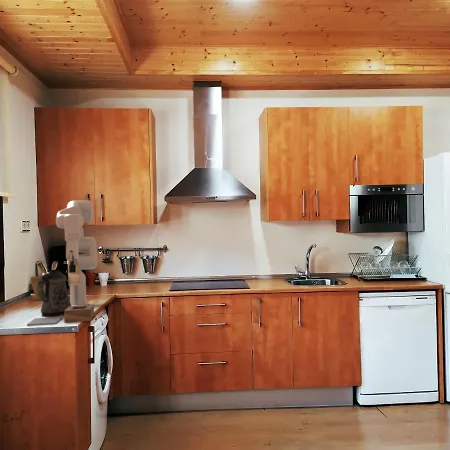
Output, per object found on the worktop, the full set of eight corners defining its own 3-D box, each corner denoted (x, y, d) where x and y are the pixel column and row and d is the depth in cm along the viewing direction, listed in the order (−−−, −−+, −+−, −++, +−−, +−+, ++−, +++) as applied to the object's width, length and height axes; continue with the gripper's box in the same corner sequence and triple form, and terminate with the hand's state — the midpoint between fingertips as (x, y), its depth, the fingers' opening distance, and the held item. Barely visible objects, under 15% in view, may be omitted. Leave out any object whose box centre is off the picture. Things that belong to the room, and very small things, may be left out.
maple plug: (69, 284, 237) (68, 261, 237) (80, 283, 238) (79, 261, 237) (67, 285, 231) (67, 262, 231) (78, 285, 232) (77, 262, 232)
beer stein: (75, 310, 260) (74, 267, 259) (64, 317, 240) (63, 271, 240) (47, 311, 259) (45, 268, 259) (34, 318, 240) (32, 272, 240)
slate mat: (34, 319, 237) (34, 318, 237) (62, 318, 239) (62, 316, 239) (27, 325, 223) (27, 324, 223) (56, 324, 225) (56, 322, 225)
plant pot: (59, 297, 308) (58, 274, 308) (45, 301, 294) (44, 277, 294) (41, 297, 312) (40, 274, 312) (26, 301, 298) (25, 277, 298)
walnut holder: (69, 317, 241) (69, 306, 241) (94, 315, 243) (93, 304, 243) (64, 322, 228) (64, 310, 228) (90, 320, 230) (90, 309, 230)
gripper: (68, 237, 242) (69, 270, 242) (61, 238, 225) (63, 274, 225) (82, 236, 243) (83, 269, 243) (77, 237, 226) (78, 273, 227)
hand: (73, 271), depth 234 cm, fingers closed on maple plug, 5 cm apart
